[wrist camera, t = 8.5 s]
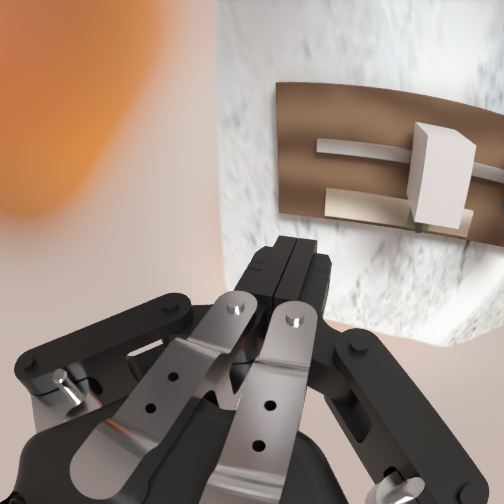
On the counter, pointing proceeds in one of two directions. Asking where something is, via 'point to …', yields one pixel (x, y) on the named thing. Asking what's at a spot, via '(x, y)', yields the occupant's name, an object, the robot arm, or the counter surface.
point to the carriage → (439, 175)
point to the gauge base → (380, 156)
